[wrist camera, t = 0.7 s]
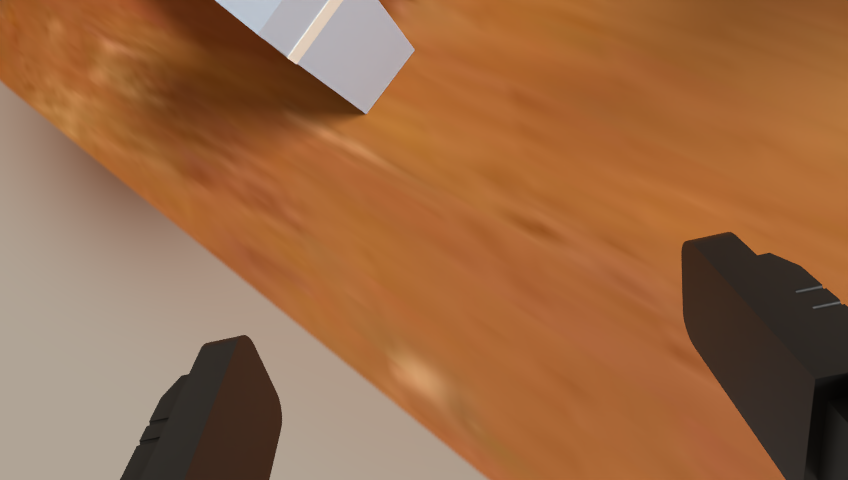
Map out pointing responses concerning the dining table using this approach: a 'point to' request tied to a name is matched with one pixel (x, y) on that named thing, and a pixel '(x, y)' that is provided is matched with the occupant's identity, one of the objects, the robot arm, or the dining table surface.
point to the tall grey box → (332, 41)
